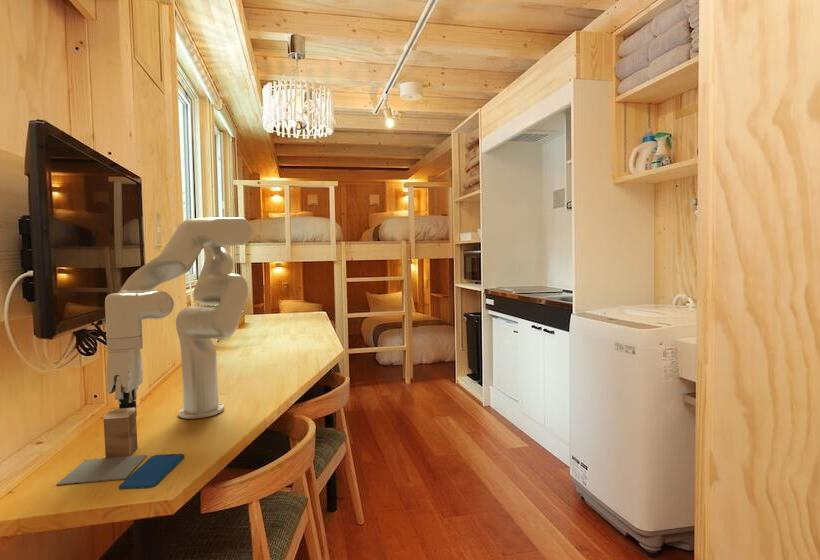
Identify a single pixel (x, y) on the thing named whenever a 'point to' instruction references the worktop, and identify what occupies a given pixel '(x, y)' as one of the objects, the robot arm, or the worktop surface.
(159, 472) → the smartphone
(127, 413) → the walnut block
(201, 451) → the worktop surface
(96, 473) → the mat
